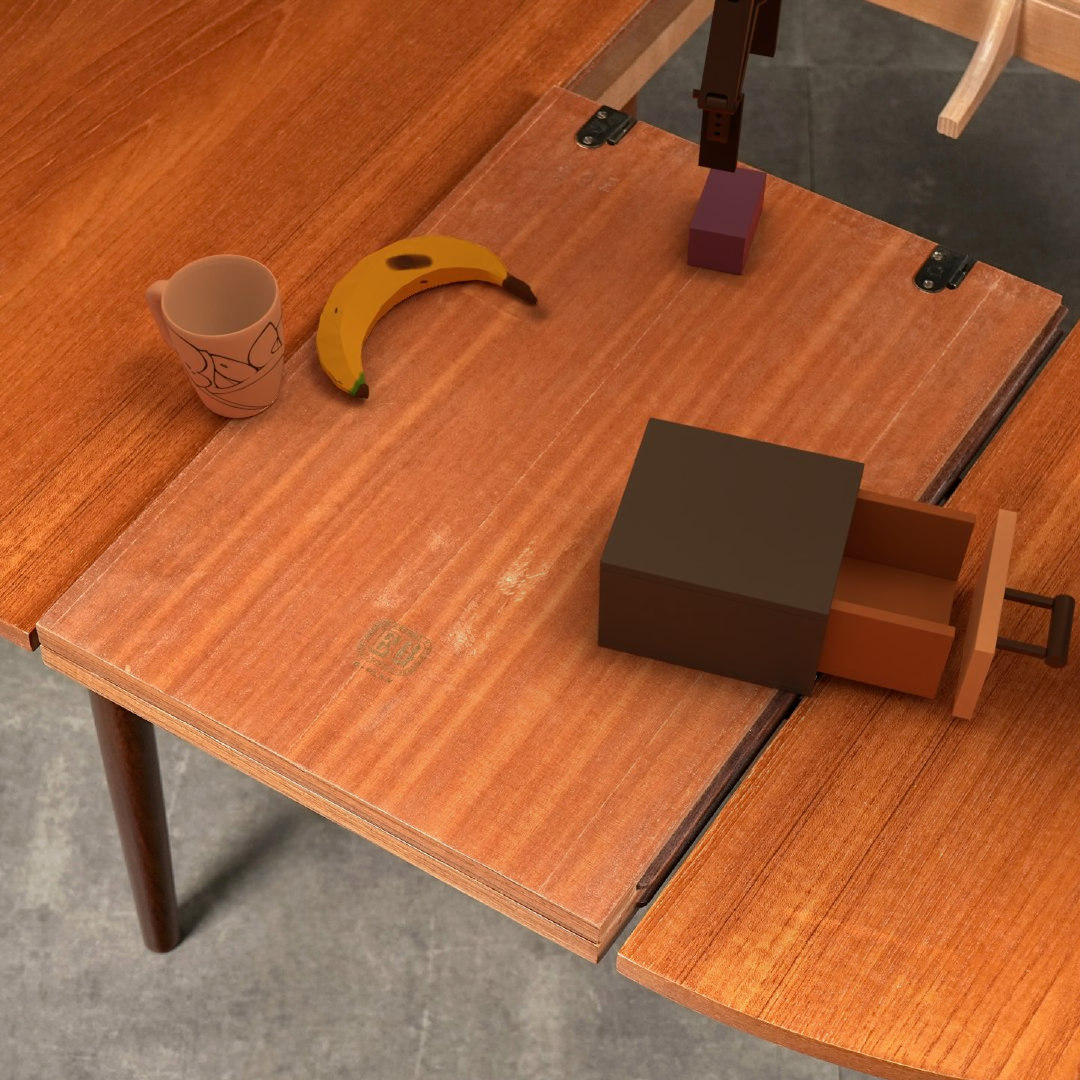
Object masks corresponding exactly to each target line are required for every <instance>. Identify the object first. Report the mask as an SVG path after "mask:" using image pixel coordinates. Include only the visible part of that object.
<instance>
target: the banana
mask: <svg viewBox="0 0 1080 1080" xmlns="http://www.w3.org/2000/svg"><path fill="white" fill-rule="evenodd" d="M475 280H476V281H481V282H482V281H483V282H487V283H491V284H494V285H497V286H500V287H501V288H504V289H505V290H507V291H508V292H510V293H511V294H512V295H514V296H517V297H518V298H520V299H522V300H524V301H526V302H527V303H529V304H531V305H534V306H535V305H536V306H537V303H538V298H537V296H536V295H535V294H534V292H533V291H532V288H531V286H530V285H529V284H528V283H526V281H524V280H522V279H520V278H518V277H516V276H514V275H512V274H511V273H510V270H509V268H508V266H507V265H506V263H505V262H504V260H503V259H502V258H500V257H499V256H498V255H497V254H495V253H494V251H492V250H490V248H488V247H486V246H483V245H481V244H478V243H476V242H473V241H471V240H468V239H465V238H462V237H455V236H447V235H441V234H426V235H421V236H414V237H407V238H403V239H399V240H396V241H395V242H393V243H391V244H388V245H386V246H385V247H382V248H380V249H378V250H376V251H375V252H372V253H370V254H368V255H366V256H364V257H362V259H360V261H358V262H357V264H355V265H354V266H353V267H352V268H351V269H350V270H349V271H348V273H346V274H345V275H344V276H343V277H341V279H340V280H339V281H338V282H337V283H336V284H335V285H334V287H333V289H332V290H331V292H330V295H329V297H328V299H327V301H326V302H325V305H324V307H323V310H322V311H321V313H320V318H319V321H318V322H319V323H318V328H317V333H316V339H315V349H316V353H317V357H318V361H319V365H320V367H321V369H322V370H323V371H324V372H325V374H326V375H327V377H328V378H329V379H330V380H331V381H332V383H333V384H334V385H335V387H336V388H338V389H340V390H341V391H344V392H345V393H347V394H349V395H351V396H353V397H354V398H357V399H363V400H366V399H369V396H370V390H369V389H370V388H369V385H368V384H367V383H366V379H365V373H364V368H363V361H362V351H363V348H364V345H365V343H366V342H367V340H368V339H369V337H370V335H371V334H372V332H373V330H374V329H373V328H375V327H376V325H377V324H378V322H379V321H380V320H381V319H382V318H383V317H384V316H385V315H386V314H385V313H387V312H388V311H389V310H390V309H391V308H392V307H393V306H394V305H395V306H397V304H399V303H400V302H403V301H404V299H405V300H407V299H408V298H410V297H412V296H414V295H415V293H416V294H417V293H419V292H423V291H426V290H428V289H427V288H429V289H431V288H430V287H432V288H435V287H437V286H436V285H439V286H443V285H447V284H451V282H452V283H456V282H465V281H466V282H467V281H475ZM442 284H443V285H442ZM434 286H435V287H434ZM425 289H426V290H425ZM422 290H423V291H422ZM413 294H414V295H413ZM411 295H412V296H411ZM409 296H410V297H409ZM407 297H408V298H407ZM402 300H403V301H402ZM395 306H394V307H395ZM394 307H393V308H394ZM393 308H392V309H393ZM392 309H391V310H392ZM391 310H390V311H391ZM390 311H389V312H390ZM389 312H388V313H389ZM388 313H387V314H388ZM384 314H385V315H384ZM383 315H384V316H383ZM382 316H383V317H382ZM381 317H382V318H381ZM380 318H381V319H380ZM379 319H380V320H379ZM378 320H379V321H378ZM377 321H378V322H377ZM376 323H377V324H376ZM375 324H376V325H375ZM374 326H375V327H374ZM372 329H373V330H372ZM371 331H372V332H371ZM370 333H371V334H370ZM368 336H369V337H368ZM366 339H367V340H366ZM365 341H366V342H365ZM364 342H365V343H364ZM362 347H363V348H362ZM361 350H362V351H361Z"/></svg>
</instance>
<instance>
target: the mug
mask: <svg viewBox="0 0 1080 1080" xmlns="http://www.w3.org/2000/svg"><path fill="white" fill-rule="evenodd" d="M144 297H145V301H146V305H147V307H148V309H149V313H151V316H152V317H153V320H154V322H155V324H156V326H157V328H158V330H159V333H160V335H161V337H162V340H163V341H164V342H165V344H166V345H167V346H168V347H169V348H170V349H171V350H173V352H175V353H176V354H177V356H178V359H179V361H180V364H181V365H182V368H183V370H184V371H185V373H186V375H187V377H188V379H189V381H190V382H191V384H192V386H193V388H194V390H195V391H196V393H197V395H198V397H199V399H200V400H201V401H202V403H203V404H204V405H205V407H207V409H209V410H210V411H211V412H212V413H214V414H217V415H218V416H221V417H224V418H229V419H245V418H249V417H253V416H255V415H259V414H260V413H262V412H264V411H266V410H267V409H269V408H270V407H271V406H272V405H273V404H274V403H275V402H276V400H277V399H278V397H279V395H280V394H281V391H282V388H283V380H284V361H285V329H284V318H283V317H284V316H283V307H282V297H281V291H280V287H279V283H278V280H277V279H276V276H275V275H274V274H273V272H272V271H271V270H270V269H269V268H268V267H267V266H266V265H265V264H262V263H261V262H260V261H258V260H257V259H254V258H251V257H248V256H245V255H239V254H238V255H237V254H227V253H226V254H215V255H209V256H205V257H202V258H199V259H196V260H194V261H191V262H190V263H188V264H186V265H184V266H183V267H181V268H180V269H178V270H177V271H176V272H175V273H174V274H173V275H172V276H171V277H170V278H169V279H168V280H167V279H158V280H156V281H154V282H153V283H151V285H149V287H148V288H146V290H145V293H144ZM281 387H282V388H281ZM280 390H281V391H280ZM278 394H279V395H278ZM277 396H278V397H277ZM276 397H277V398H276ZM275 398H276V400H275ZM274 400H275V401H274ZM272 401H274V402H273V403H272ZM271 403H272V404H271ZM270 404H271V405H270ZM269 405H270V406H269ZM267 406H268V407H267ZM265 407H267V408H265ZM264 408H265V409H264ZM262 409H264V410H262ZM260 410H262V411H260ZM259 411H260V412H259ZM257 412H258V413H257ZM254 413H255V414H254Z"/></svg>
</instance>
